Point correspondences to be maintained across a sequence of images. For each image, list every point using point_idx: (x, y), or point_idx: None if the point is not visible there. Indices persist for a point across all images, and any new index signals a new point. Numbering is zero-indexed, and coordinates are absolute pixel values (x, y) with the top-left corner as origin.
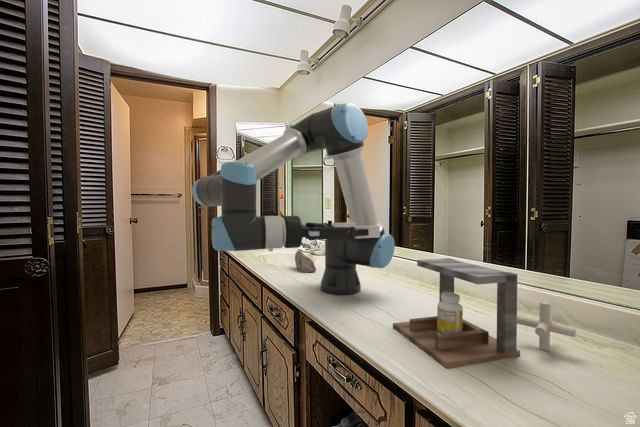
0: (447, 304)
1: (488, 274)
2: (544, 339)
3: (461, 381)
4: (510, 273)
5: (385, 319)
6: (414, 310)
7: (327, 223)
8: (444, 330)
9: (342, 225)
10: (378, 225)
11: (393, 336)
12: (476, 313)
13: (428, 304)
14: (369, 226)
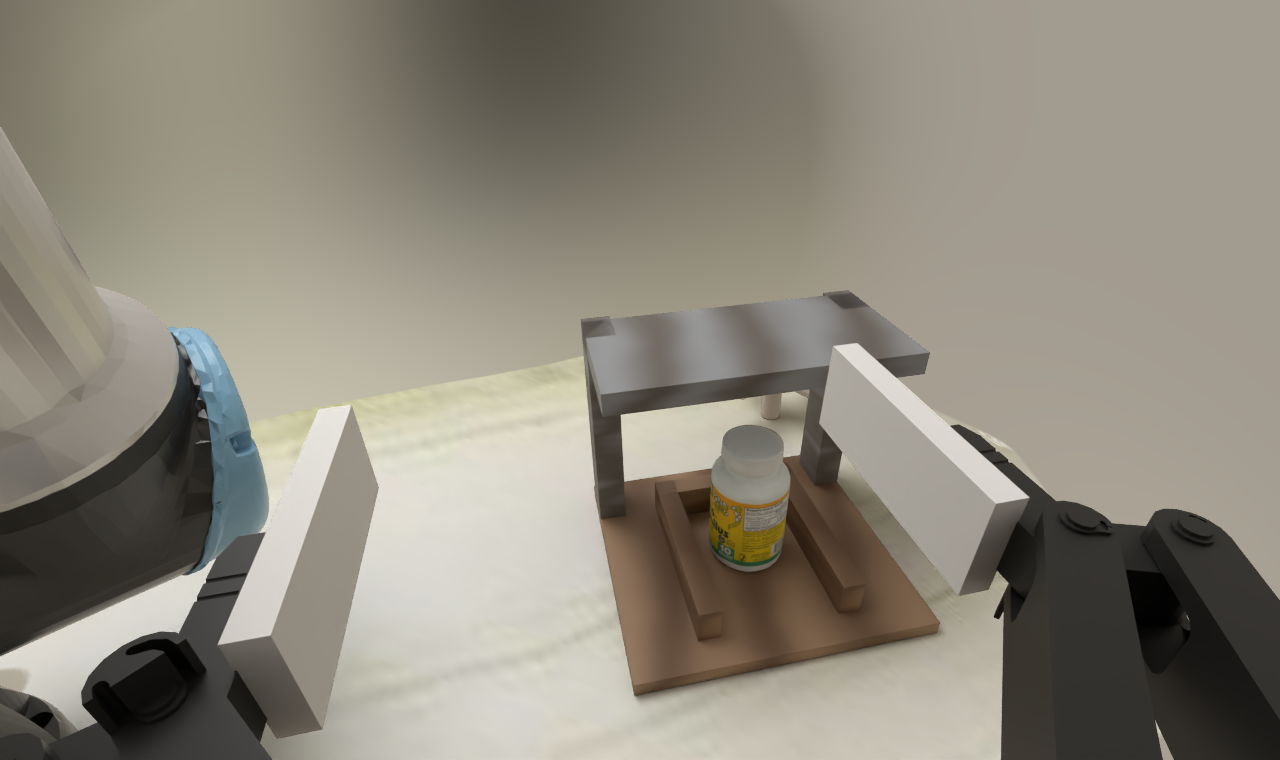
0: (772, 476)
1: (877, 327)
2: (780, 398)
3: (998, 625)
4: (844, 295)
5: (545, 701)
6: (479, 561)
7: (36, 738)
8: (775, 548)
9: (322, 545)
10: (836, 346)
11: (726, 721)
12: (555, 427)
13: (438, 501)
14: (912, 396)
